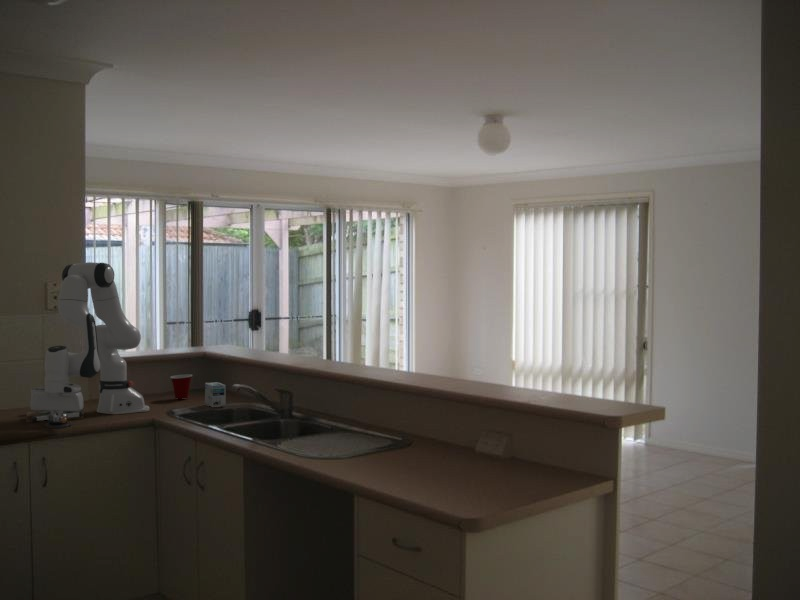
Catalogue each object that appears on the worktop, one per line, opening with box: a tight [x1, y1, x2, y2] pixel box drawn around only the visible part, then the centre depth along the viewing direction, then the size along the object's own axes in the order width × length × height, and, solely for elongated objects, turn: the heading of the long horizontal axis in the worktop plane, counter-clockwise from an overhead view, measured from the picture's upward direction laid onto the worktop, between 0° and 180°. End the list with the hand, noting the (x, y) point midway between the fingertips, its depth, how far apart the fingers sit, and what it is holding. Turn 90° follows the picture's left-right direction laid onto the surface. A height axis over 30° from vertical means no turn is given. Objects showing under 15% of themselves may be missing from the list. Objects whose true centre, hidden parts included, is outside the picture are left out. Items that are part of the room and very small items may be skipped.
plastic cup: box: [169, 373, 193, 399], centre depth 377 cm, size 11×11×12 cm
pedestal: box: [45, 421, 71, 429], centre depth 308 cm, size 9×9×1 cm
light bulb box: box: [204, 381, 227, 406], centre depth 359 cm, size 11×7×11 cm, turn 34°
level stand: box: [25, 409, 85, 423], centre depth 324 cm, size 22×10×4 cm, turn 114°
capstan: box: [31, 411, 85, 425], centre depth 308 cm, size 20×20×5 cm
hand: (56, 421), depth 302 cm, fingers closed
